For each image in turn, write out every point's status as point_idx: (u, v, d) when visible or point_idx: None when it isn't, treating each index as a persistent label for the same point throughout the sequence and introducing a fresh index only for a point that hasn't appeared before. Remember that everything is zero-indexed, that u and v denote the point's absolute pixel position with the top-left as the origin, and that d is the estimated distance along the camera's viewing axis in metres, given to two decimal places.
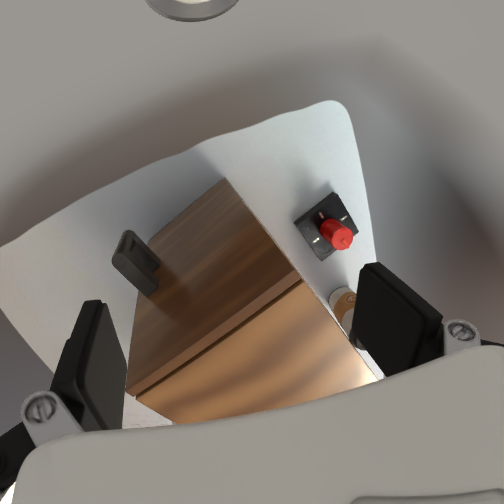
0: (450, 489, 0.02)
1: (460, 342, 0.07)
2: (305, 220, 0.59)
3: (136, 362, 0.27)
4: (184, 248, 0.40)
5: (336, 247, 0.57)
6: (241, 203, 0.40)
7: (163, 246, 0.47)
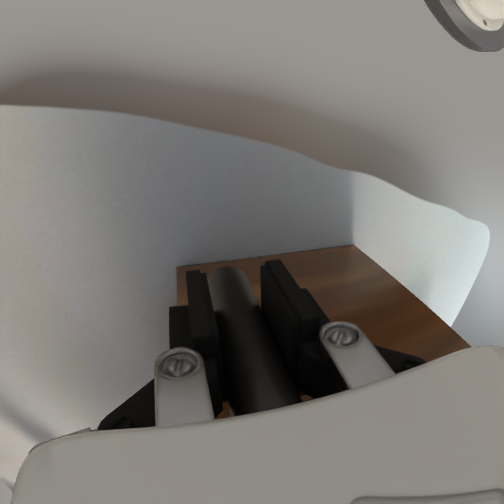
0: (450, 489, 0.02)
1: (348, 348, 0.07)
2: None
3: None
4: None
5: None
6: (460, 340, 0.17)
7: None
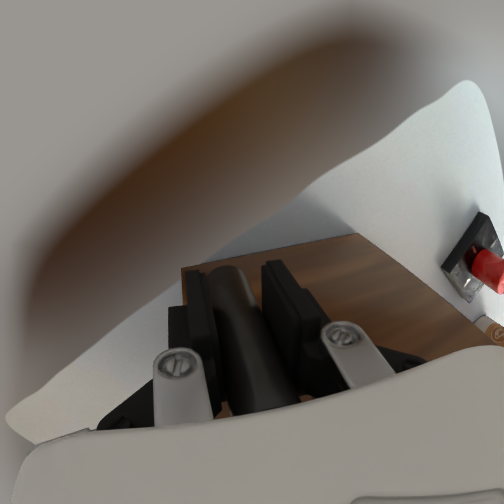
0: (450, 489, 0.02)
1: (349, 347, 0.07)
2: (458, 263, 0.35)
3: None
4: None
5: (500, 292, 0.32)
6: (469, 324, 0.17)
7: None
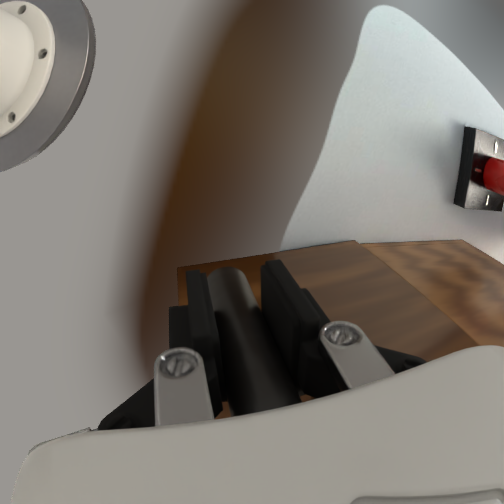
0: (450, 489, 0.02)
1: (348, 348, 0.07)
2: (468, 193, 0.31)
3: None
4: None
5: None
6: (463, 334, 0.17)
7: None
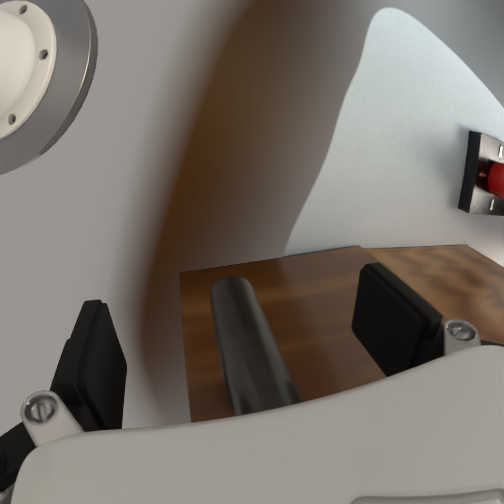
0: (450, 489, 0.02)
1: (460, 342, 0.07)
2: (472, 198, 0.31)
3: None
4: None
5: None
6: None
7: None
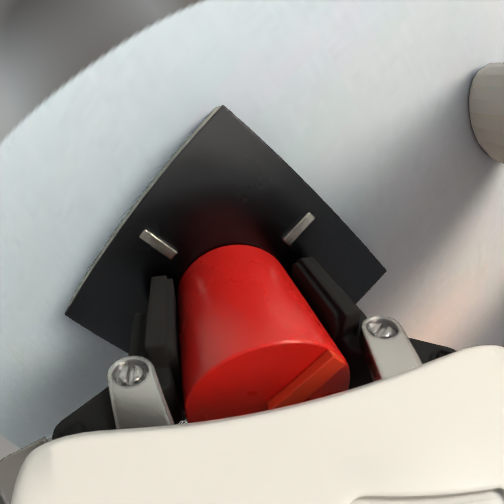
0: (450, 489, 0.02)
1: (386, 341, 0.07)
2: None
3: None
4: None
5: None
6: None
7: None
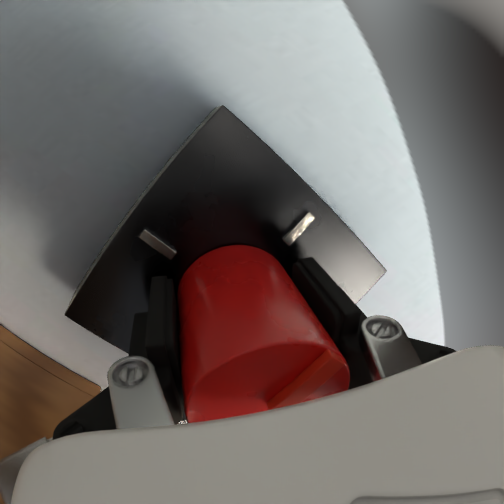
0: (450, 489, 0.02)
1: (385, 341, 0.07)
2: (88, 285, 0.11)
3: None
4: None
5: None
6: None
7: None
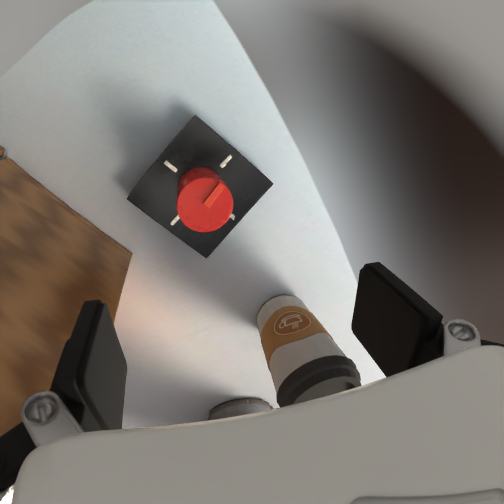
0: (450, 489, 0.02)
1: (460, 342, 0.07)
2: (140, 184, 0.28)
3: None
4: None
5: (227, 212, 0.25)
6: None
7: None
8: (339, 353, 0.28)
